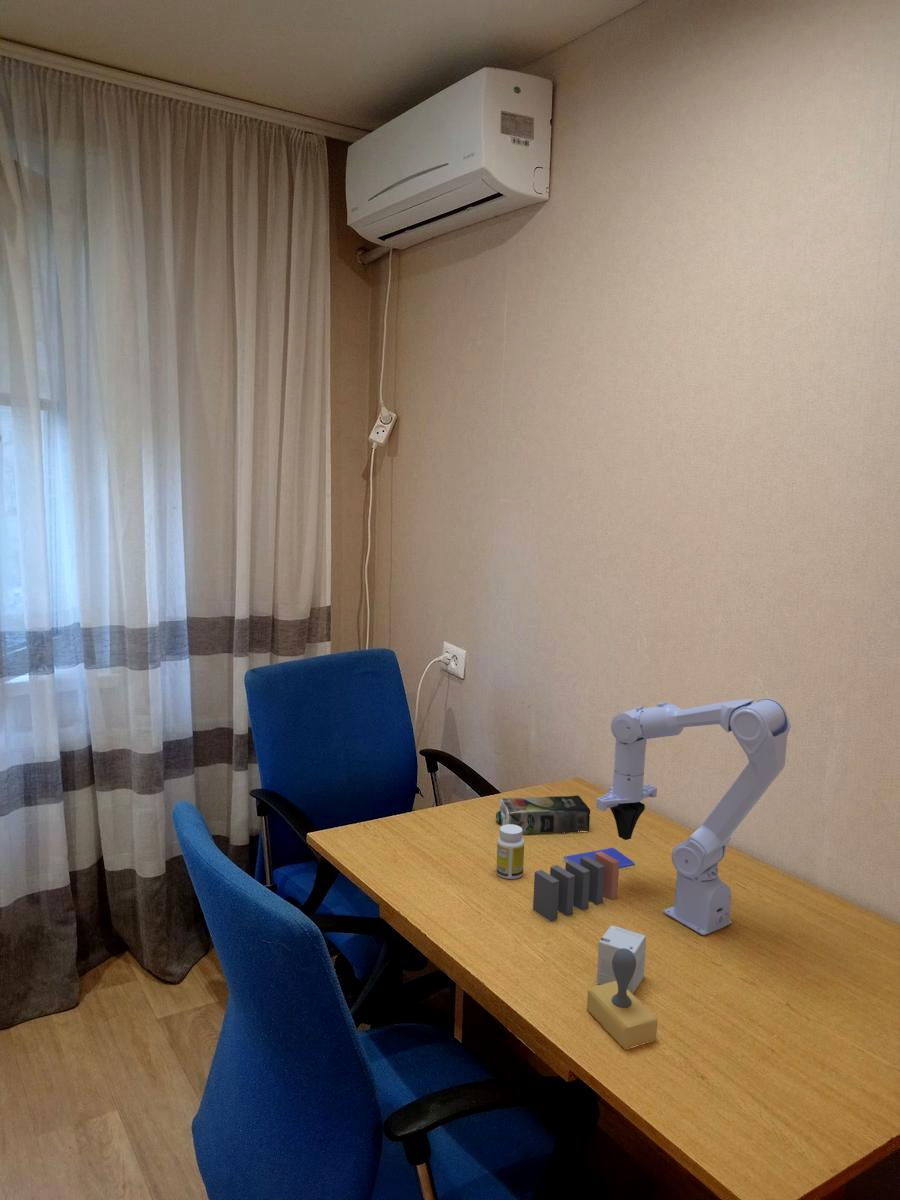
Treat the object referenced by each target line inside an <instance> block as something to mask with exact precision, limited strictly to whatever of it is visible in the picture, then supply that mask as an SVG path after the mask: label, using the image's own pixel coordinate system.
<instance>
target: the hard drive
mask: <svg viewBox="0 0 900 1200" xmlns="http://www.w3.org/2000/svg"><path fill="white" fill-rule="evenodd" d="M600 851H601V852H603V853H605V854H607V855H609V856H611V857H612V858H614V859H616V860H618V861H619V869H623V868H627V867H631V866H634V865H635V866H636V863H635V861H633V860H632V859H630V858H629V857H627V856H626V855H625V854H623V853H622V852H620V851H619V850H618V849H616V848H615V847H609V848H603V849H599V850H598V849H597V850H592V851H587V852H581V853H575V854H570V855H565V856H563V858H562V859H563V862H565V863H566V862H568V861H571V860H572V861H574V862H576V863H578V864H579V865H580V858H581V857H584V856H588V857H590V858H592V859H593V860H595V853H597V852H600Z"/></svg>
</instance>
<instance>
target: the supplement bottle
mask: <svg viewBox="0 0 900 1200" xmlns="http://www.w3.org/2000/svg"><path fill="white" fill-rule="evenodd" d="M496 841H497V843H496V868H495V869H496V874H497V875H498V876H499V877H500V878H502V879H506V880H517V879H519V878H521V877H523V874H524V864H525V863H524V861H525V840H524V838H523V835H522V828H521V827H520V826H518V825H513V824H507V825H503V826H502V825H501V826H500V828H499V837H498V838H497V840H496Z"/></svg>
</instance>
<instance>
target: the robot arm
mask: <svg viewBox="0 0 900 1200" xmlns="http://www.w3.org/2000/svg"><path fill="white" fill-rule="evenodd" d="M754 701H755V702H754ZM753 702H754V703H753ZM710 725H711V726H712V725H713V726H714V725H720V726H721V727H722V729H723V730H724V731H725V732H726V733H730V732H732V734H733V736H734V738H735V739H736V741H737V743H738V744H739V746H740V747H741V749H742V750H743V752H744V754H745V755H746V757H747V760H748V764H747V765H746V766H745V767H744V769H743V770H742V771H741V773H740V774H739V775H738V777H737V778H736V779H735V780H734V782H733V783H732V784H731V785H730V787H729V788H728V790H727V791H726V792H725V794H723V797H722V798H721V799H720V800H719V802H718V803H717V804H716V806H715V807H714V808H713V810H712V811H711V812H710V814H709V815H708V816H707V817H706V819H705V820H704V822H703V823H702V824H701V825H700V826H699V827H698V828H697V829H696V830H695V831H694V832H692V833H691V835H690V836H689V837H688V838H687V839H686V840H685V841H682V842H680V843H678V844H676V845H675V846H674V848H673V849H672V851H671V862H672V865H673V867H674V868H675V870H676V880H675V892H674V895H675V896H674V904H673V906H671V907H668V908H665V909H663V913H664V914H665V915H667V916H669V917H670V918H672V919H674V920H676V921H677V922H678V923H681V924H683V925H684V926H686V927H688V928H690V929H691V930H693V931H694V932H696V933H698V934H699V935H702V936H706V935H709V934H711V933H713V932H716V931H718V930H720V929H722V928H723V929H724V928H726V927H727V925H728V926H730V925H732V920H730V916H731V915H730V912H731V901H732V889H731V888H730V886H729V885H728V884H727V883H725V882H724V881H723V880H722V879H721V877H720V876H719V868H718V867H719V863H720V862H721V861H723V859H724V858H725V855H726V852H727V851H726V850H727V846H728V844H729V842H730V841H731V836H732V834H734V832H735V831H736V829H737V828H738V827H739V825H740V824H742V822H743V820H744V819H745V818H746V817H747V816H748V814H749V813H750V812H751V811H752V809H753V808H754V807H755V805H756V804H757V803H758V801H759V800H760V799H761V798H762V796H763V795H764V794H765V793H766V791H767V790H768V789H769V787H770V786H771V785H772V783H773V782H774V781H775V780H776V779H777V777H778V776H779V774H780V773H782V771H783V769H784V768H785V765H786V764H785V763H786V755H787V743H788V735H789V734H790V733H789V732H790V731H791V723H790V719H789V717H788V714H787V711H786V708H785V707H784V705H782V703H781V702H779V701H778V700H776V699H773V698H770V697H769V698H768V697H764V698H761V699H758V700H757V701H756V698H746V699H745V698H744V699H736V700H727V701H722V702H717V703H711V704H705V705H700V706H695V707H690V708H689V707H688V708H685V709H684V708H683V709H682V708H680V707H679V706H677V705H676V704H674V703H673V704H672V703H670V704H668V703H667V701H662V702H659V703H657V704H656V706H651V707H644V706H637V707H635V708H632V709H629V710H627V711H623V712H621V713H618V714H616V715H615V716H614V717H613V718H612V720H611V723H610V729H611V734H612V735H613V737H614V739H615V747H614V762H613V763H614V764H613V779H612V780H613V781H612V786H610V787H609V791H608V792H607V793H605V794H604V795H602V796H600V797H596V805H595V808H596V809H597V810H600V811H602V812H605V811H608V809H610V811H611V813H612V815H613V818H614V822H615V824H616V829H617V835H618V838H620V839H622V840H624V841H628V840H630V839H632V835H633V833H634V830H635V827H636V824H637V822H638V821H639V818H640V817H641V815H642V814H643V812H644V811H645V810H646V805H645V804H644V803H642V801H644V799H647V798H652V799H653V798H657V795H658V787H656V786H654V785H652V784H645V785H644V779H645V775H644V774H645V766H646V765H645V763H646V762H645V761H646V748H647V740H651V739H658V738H666V737H673V736H674V737H675V736H679V735H680V734H681V733H682V731H683V730H684V728H690V727H700V726H710ZM729 924H730V925H729Z"/></svg>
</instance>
